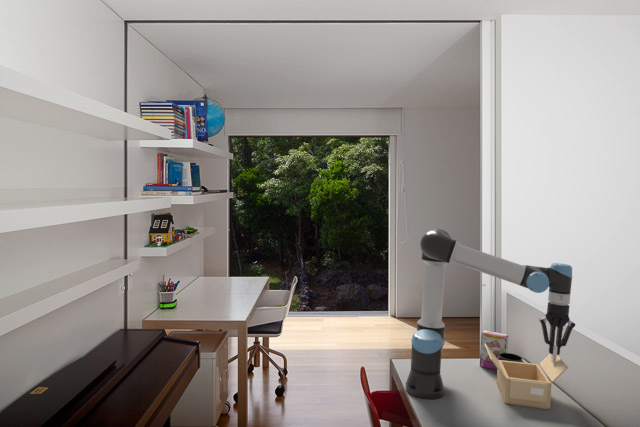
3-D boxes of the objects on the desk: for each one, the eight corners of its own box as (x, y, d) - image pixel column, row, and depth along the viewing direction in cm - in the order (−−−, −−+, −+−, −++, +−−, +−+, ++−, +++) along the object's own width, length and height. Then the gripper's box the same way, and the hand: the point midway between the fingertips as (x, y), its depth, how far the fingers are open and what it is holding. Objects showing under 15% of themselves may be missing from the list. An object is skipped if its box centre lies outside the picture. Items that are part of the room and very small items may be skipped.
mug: (531, 380, 196) (532, 359, 196) (507, 381, 194) (508, 361, 193) (517, 371, 205) (518, 352, 205) (493, 373, 203) (494, 353, 202)
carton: (505, 404, 171) (506, 378, 171) (496, 382, 192) (497, 359, 192) (550, 410, 168) (552, 384, 167) (536, 387, 189) (538, 363, 188)
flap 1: (504, 376, 172) (503, 376, 172) (497, 359, 191) (496, 359, 191) (491, 358, 173) (490, 359, 173) (485, 343, 192) (484, 344, 192)
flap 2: (539, 363, 187) (540, 364, 187) (552, 381, 169) (553, 382, 168) (553, 350, 186) (554, 350, 186) (567, 366, 167) (568, 367, 167)
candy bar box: (479, 366, 210) (481, 332, 209) (481, 363, 214) (483, 329, 213) (504, 372, 204) (506, 336, 203) (506, 369, 208) (508, 334, 207)
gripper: (543, 303, 174) (538, 363, 175) (579, 307, 171) (574, 368, 172) (538, 299, 181) (533, 356, 182) (573, 302, 178) (568, 361, 179)
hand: (553, 362), depth 177 cm, fingers closed
